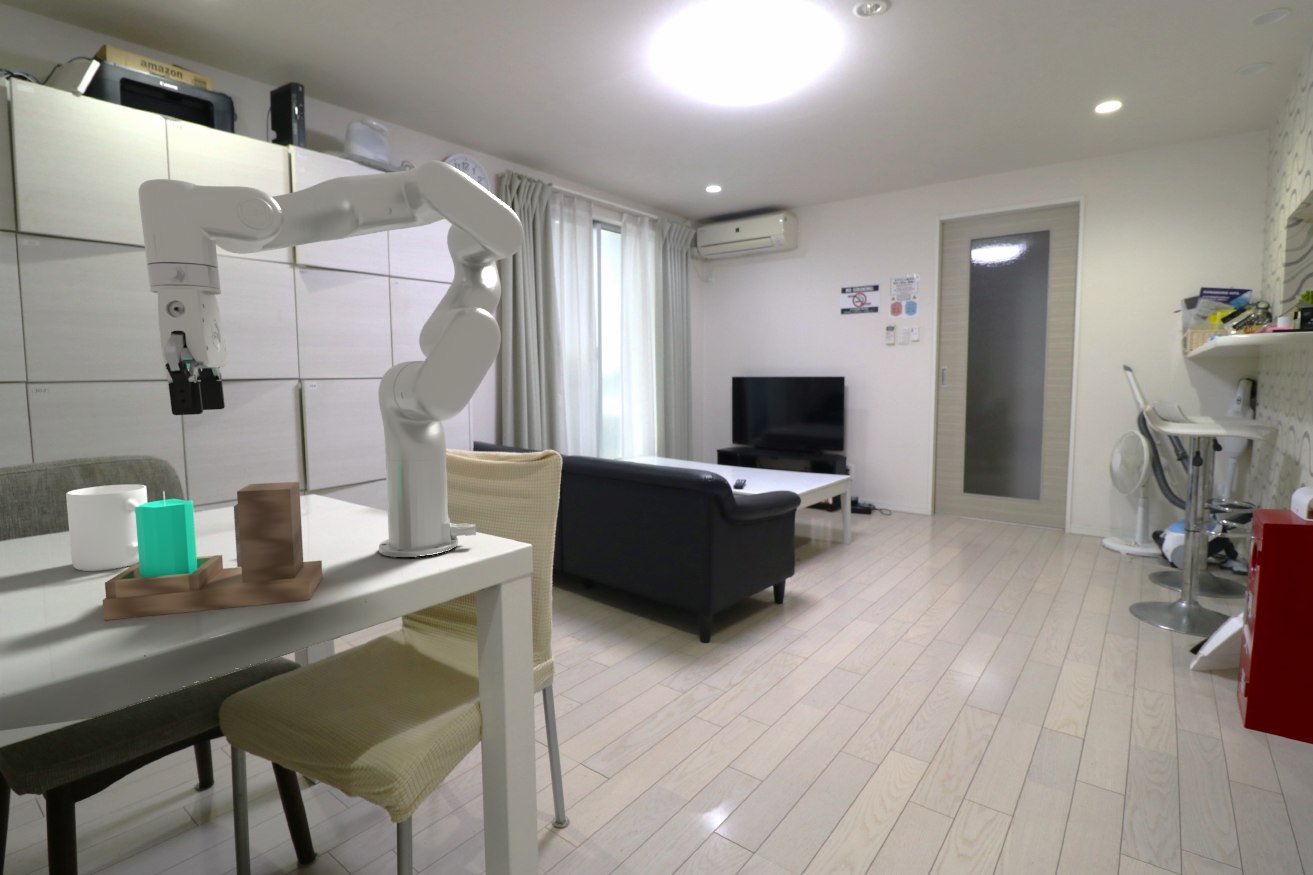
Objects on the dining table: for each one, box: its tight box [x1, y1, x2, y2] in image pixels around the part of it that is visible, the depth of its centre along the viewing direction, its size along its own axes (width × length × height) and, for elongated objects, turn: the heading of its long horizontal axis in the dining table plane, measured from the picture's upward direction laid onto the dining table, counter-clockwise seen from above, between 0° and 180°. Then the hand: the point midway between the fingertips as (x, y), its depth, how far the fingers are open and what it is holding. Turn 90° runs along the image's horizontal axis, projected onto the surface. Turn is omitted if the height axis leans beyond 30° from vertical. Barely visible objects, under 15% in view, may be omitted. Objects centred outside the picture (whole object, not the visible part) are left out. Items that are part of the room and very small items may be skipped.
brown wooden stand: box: [102, 481, 323, 621], centre depth 84 cm, size 22×10×14 cm, turn 109°
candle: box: [135, 490, 198, 578], centre depth 82 cm, size 6×6×12 cm
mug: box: [65, 484, 148, 572], centre depth 100 cm, size 10×12×12 cm
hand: (200, 411), depth 86 cm, fingers open, 9 cm apart
